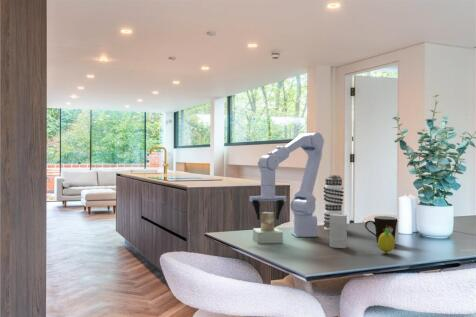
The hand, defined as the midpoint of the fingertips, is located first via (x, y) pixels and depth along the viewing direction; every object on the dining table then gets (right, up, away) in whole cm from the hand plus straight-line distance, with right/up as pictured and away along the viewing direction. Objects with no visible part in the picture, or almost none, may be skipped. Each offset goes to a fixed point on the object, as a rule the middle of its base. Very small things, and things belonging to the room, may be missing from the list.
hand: (267, 219), depth 167 cm
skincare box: (+25, -9, -11) cm, 29 cm away
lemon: (+40, -9, -21) cm, 46 cm away
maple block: (0, -4, 0) cm, 4 cm away
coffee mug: (+45, -9, -2) cm, 45 cm away
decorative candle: (+33, -9, +28) cm, 44 cm away
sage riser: (0, -8, 0) cm, 8 cm away
